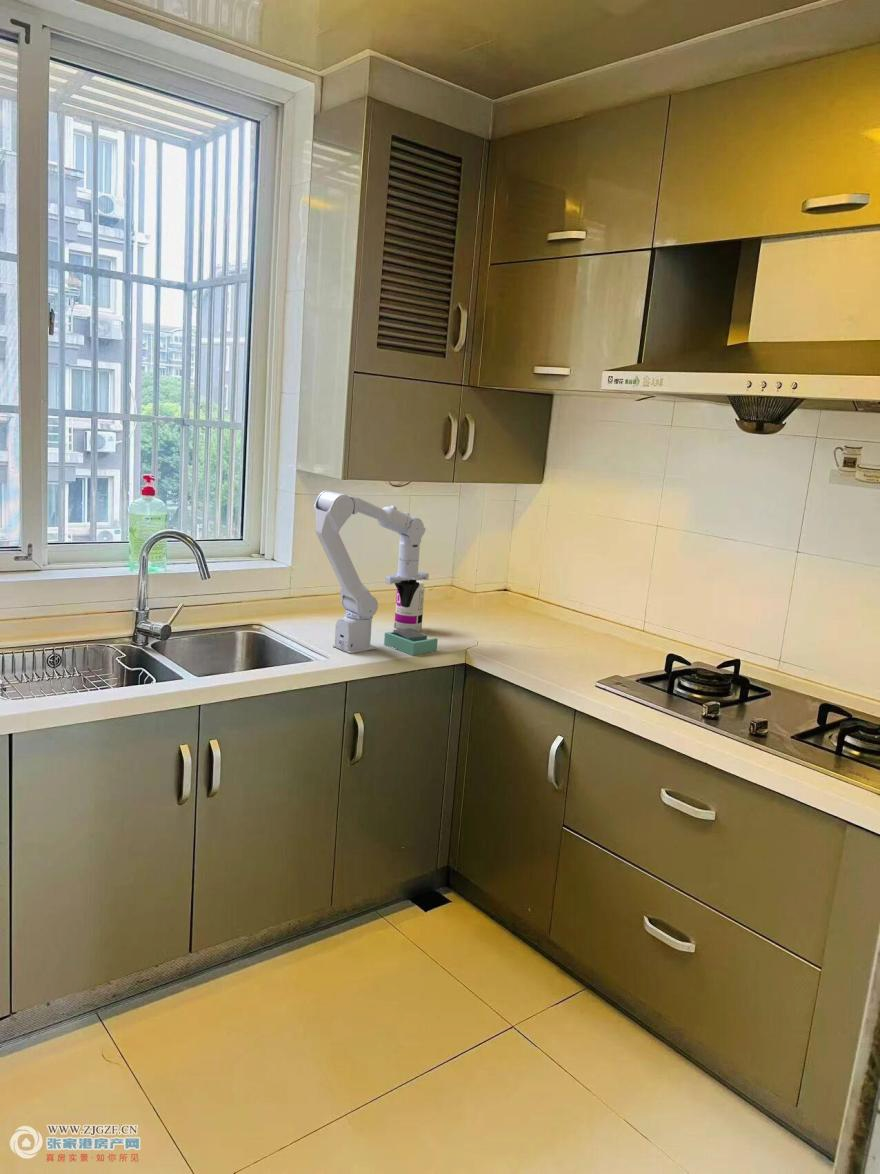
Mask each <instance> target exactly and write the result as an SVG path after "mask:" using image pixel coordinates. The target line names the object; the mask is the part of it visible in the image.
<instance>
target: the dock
mask: <svg viewBox="0 0 880 1174" xmlns="http://www.w3.org/2000/svg"><path fill="white" fill-rule="evenodd" d="M438 640H439V639H438V638H436V637H435V638H427V640H421V641H416V642H413V641H410V640H408V639H405V638H402V637H399V636H397V635H394V634H393V631H387V632H384V641H383V643H384V644H385V645H384V644H383V645H384V646H386V645H388V646H387V647H389V646H390V647H389V648H391V647H393V648H392V649H394V648H395V649H394V650H397V649H398V650H397V651H399V650H401V651H400V652H402V651H403V653H405V652H406V653H405V654H407V653H408V655H410V654H411V655H410V656H412V655H414V656H418V655H417V654H419V655H422V654H421V653H424V654H427V653H426V652H429V653H432V652H431V651H434V652H437V651H438ZM436 650H437V651H436Z"/></svg>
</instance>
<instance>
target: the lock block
mask: <svg viewBox="0 0 880 1174" xmlns="http://www.w3.org/2000/svg"><path fill="white" fill-rule="evenodd" d="M393 634H394V635H397V636H399V637H402V638H405V639H408V640H410V641H413V642H416V641H421V640H427V639H428V635H427V634H425V633H423V632H421V631H417V630H414V629H412V628H408V629H398V630H396V629H393Z"/></svg>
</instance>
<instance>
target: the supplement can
mask: <svg viewBox="0 0 880 1174" xmlns="http://www.w3.org/2000/svg"><path fill="white" fill-rule="evenodd" d="M416 582H419V587H418V588H417V590H416V592H415V593H414V596H413V598H412V601H411V604H410V607H407V608H406V607H403V606H402V605H401V599H400V595H399V592H398V589H397V588H396V598H395V609H394V611H395V612H394V626H393V627H394V630H398V629H408V628H412V629H414V630H417V631H419V632H421V631H422V629H423V615H424V603H425V599H424V598H425V585H424V582H423V580H416Z"/></svg>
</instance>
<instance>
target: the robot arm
mask: <svg viewBox="0 0 880 1174" xmlns="http://www.w3.org/2000/svg"><path fill="white" fill-rule="evenodd" d="M313 509H314V511H315V533H316V535H317V538H318V540H319V542H320V544H321V546H322V548H323V551H324V553H325V555H326V557H327V559H328V561H329V563H330V566H331V567H332V570H333V572H334V574H335V576H336V578H337V580H338V582H339V584H340V587H341V589H340V590H339V594H340V596H341V605H342V607H343V609H344V614H345V615H344V617H342V618H339V619H338V620H337V621H336V624H335V628H334V629H335V633H334V635H335V636H334V644H333V645H332V647H334V648H337V649H338V650H341V651H344V652H345V653H348V654H354V653H359V652H365V651H371V650H376V649H377V648H378V647H377V646H375V645H373V644H371V638H372V637H371V636H372V623H373V621H372V620H373V618H374V615H375V614H376V613H377V611H378V608H379V605H378V604H379V602H378V600H377V598H376V597H374V596H373V595H372V594H371V592H370V591H369V589H368V588H367V587H366V586H365V584H363V582H362V581H361V579H360V577H359V575H358V573H357V571H356V567H355V566H354V564H353V561H352V559H351V557H350V555H349V552H348V551H347V549H346V546H345V544H344V542H343V540H342V537H341V535H340V531H341V529H342V527H343V526H344V525H345V524H346V522H347V521H348V519H349V518H350V517H351V515H356V514H358V513H360V514H362V515H365V516H368V517H370V518H373V519H376V520H377V522H378V525H379V526H380V527H382V528H385V529H387V530H390V531H392V532H395V533H397V534H398V535H399V541H398V542H399V543H398V561H397V573H394V574H391V575H386V576H385V584H387V585H395V587H396V590H397V589H398V592H399V595H400V599H401V605H402V606H403V607H406V608H407V607H410V604H411V601H412V598H413V596H414V593H415V592H416V590H417V588H418V587H419V582H416V580H419V581H423V580H424V581H425V580H426V581H428V580H429V578H430V577H429V575H430V573H429V572H427V571H419V564H420V563H419V562H420V549H421V547H420V546H421V543H422V537H423V536H424V535H425V533H426V527H425V524H424V522H423V521H422V519H420V518H418V517H414V516H411V513H409V512H407V511H405V512H403V511H400V510H399V509H398V507H397V506H394V505H390V506H384V507H383V508H381V507H379V506H377V505H375V504H373V503H371V502H368V501H367V500H364V499H363V498H359V497H356V496H352V495H350V494H349V495H348V494H343V493H340V492H333V491H331V490H328V489H327V490H323V491H321V492H320V493H319V494H318V496H317V498H316V499H315V502H314V504H313Z"/></svg>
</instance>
